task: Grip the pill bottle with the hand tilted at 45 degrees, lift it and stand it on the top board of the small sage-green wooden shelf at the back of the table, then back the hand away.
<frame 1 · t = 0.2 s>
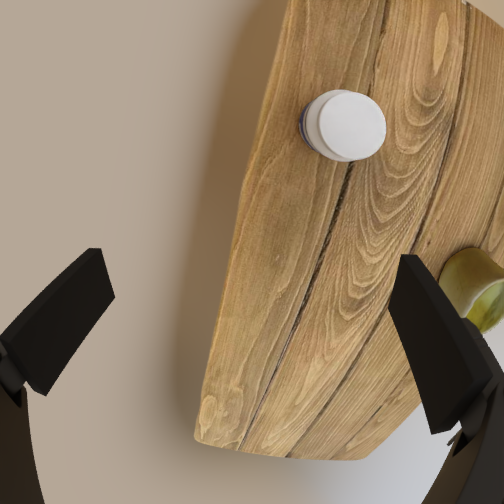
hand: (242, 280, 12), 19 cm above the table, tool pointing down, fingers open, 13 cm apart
mug: (455, 285, 32), on the table
pill bottle: (326, 125, 26), on the table
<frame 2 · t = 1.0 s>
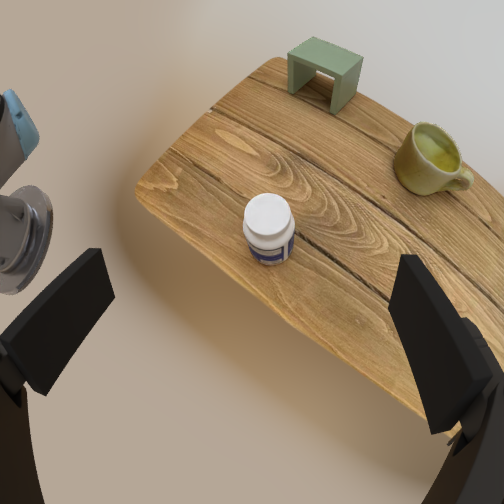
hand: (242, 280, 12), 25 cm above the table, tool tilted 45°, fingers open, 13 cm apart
shelf: (322, 92, 46), on the table
mug: (424, 180, 39), on the table
pill bottle: (271, 245, 39), on the table
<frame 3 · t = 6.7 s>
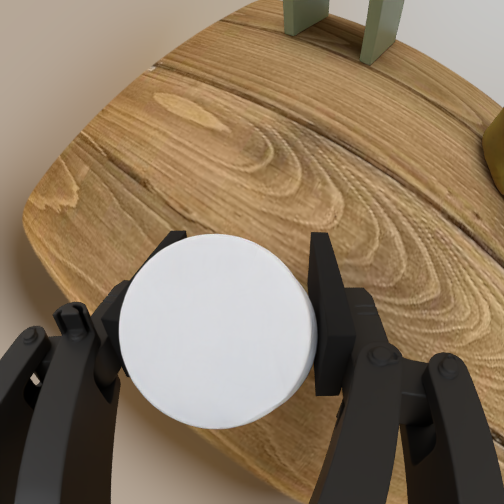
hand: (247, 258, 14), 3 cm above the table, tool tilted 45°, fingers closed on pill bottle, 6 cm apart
shelf: (342, 35, 24), on the table
pill bottle: (251, 339, 16), on the table, touching gripper
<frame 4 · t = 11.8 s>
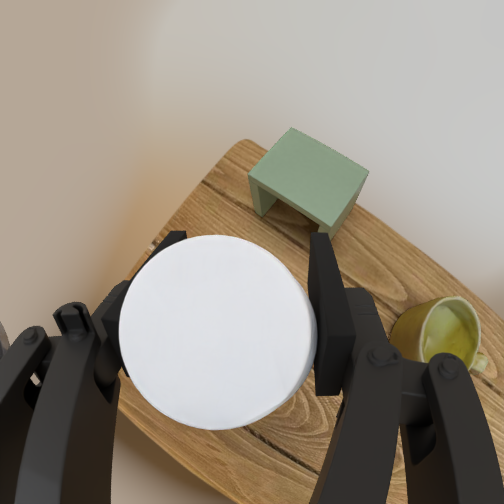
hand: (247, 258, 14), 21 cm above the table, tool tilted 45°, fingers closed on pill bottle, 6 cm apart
shelf: (304, 210, 37), on the table
mug: (427, 347, 30), on the table
pill bottle: (251, 339, 16), point 18 cm above the table, touching gripper
when the fingers open (13 cm above the table, at t = 17.1 s): pill bottle stays where it is, resting on shelf.
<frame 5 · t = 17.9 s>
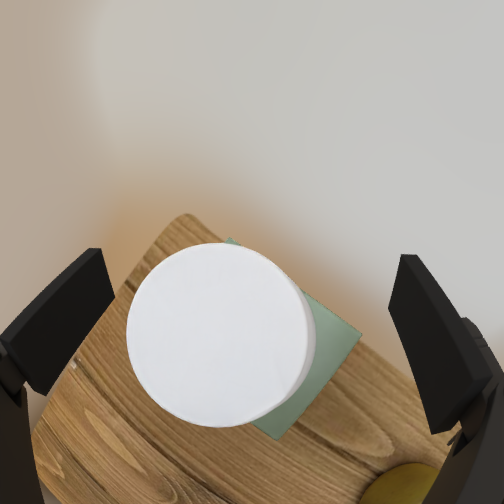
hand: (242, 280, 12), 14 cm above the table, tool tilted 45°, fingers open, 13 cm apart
shelf: (262, 340, 25), on the table
mug: (407, 497, 18), on the table
pill bottle: (252, 340, 16), point 9 cm above the table, touching shelf
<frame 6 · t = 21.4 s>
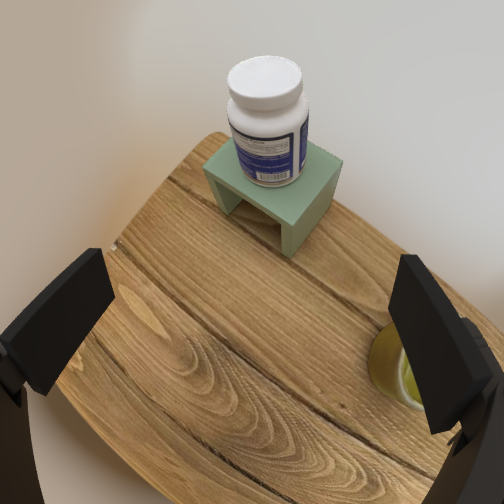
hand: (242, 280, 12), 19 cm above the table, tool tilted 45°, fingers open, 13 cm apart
shelf: (275, 208, 33), on the table
mug: (413, 365, 26), on the table
pill bottle: (272, 163, 25), point 9 cm above the table, touching shelf
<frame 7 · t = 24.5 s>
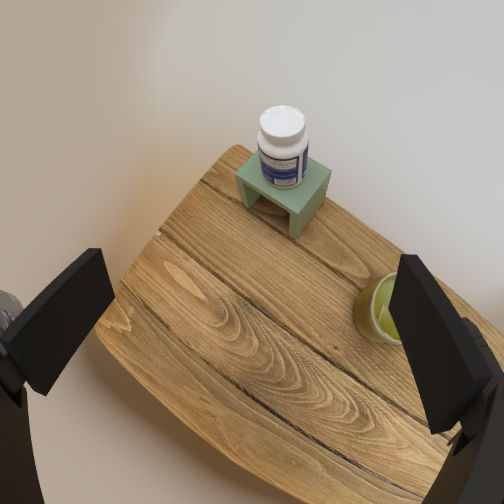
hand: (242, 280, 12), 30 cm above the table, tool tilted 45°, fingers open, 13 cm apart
shelf: (283, 203, 46), on the table
mug: (388, 319, 39), on the table
pill bottle: (283, 172, 37), point 9 cm above the table, touching shelf
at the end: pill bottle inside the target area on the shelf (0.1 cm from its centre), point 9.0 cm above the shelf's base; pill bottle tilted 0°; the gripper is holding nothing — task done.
